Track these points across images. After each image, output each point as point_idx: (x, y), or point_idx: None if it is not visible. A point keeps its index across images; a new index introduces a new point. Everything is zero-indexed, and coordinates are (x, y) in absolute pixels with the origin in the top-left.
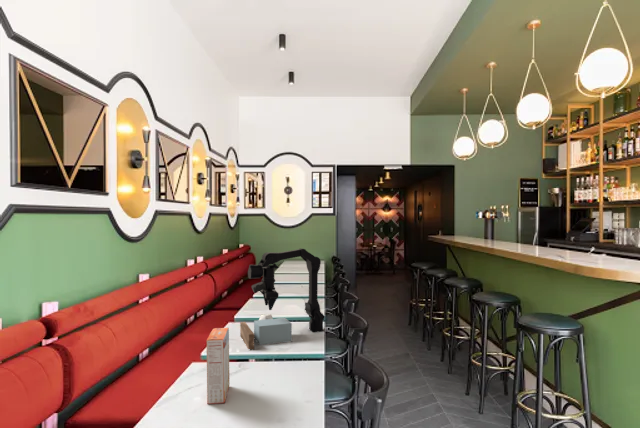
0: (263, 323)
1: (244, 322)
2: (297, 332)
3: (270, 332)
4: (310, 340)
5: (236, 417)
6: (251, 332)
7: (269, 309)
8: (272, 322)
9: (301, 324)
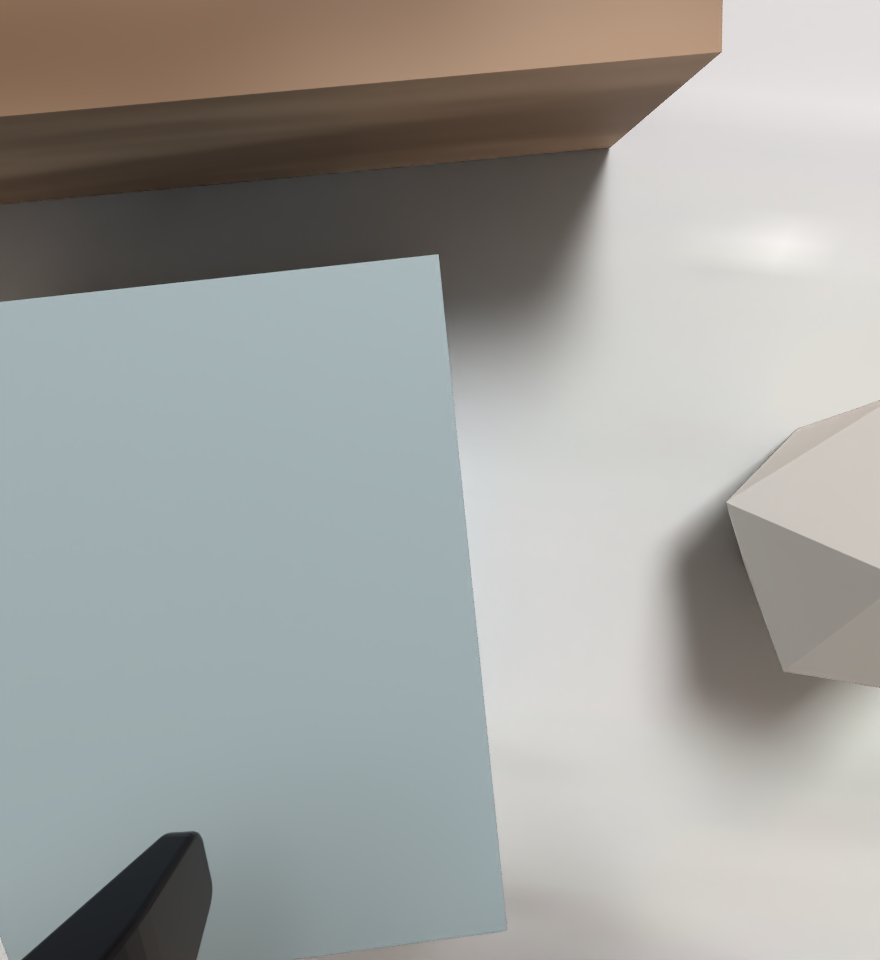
0: (68, 464)
1: (668, 25)
2: (528, 860)
3: None
4: None
5: None
6: None
7: (146, 857)
8: (138, 671)
9: (864, 944)
